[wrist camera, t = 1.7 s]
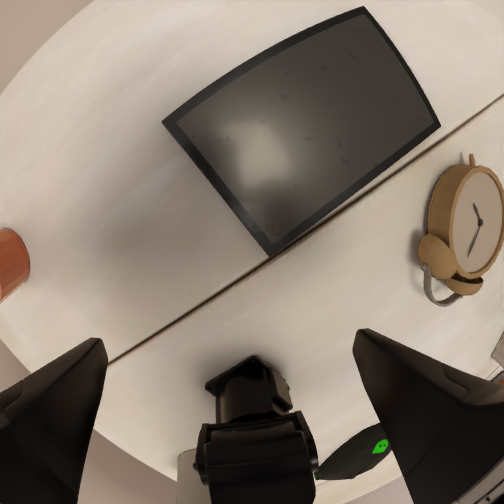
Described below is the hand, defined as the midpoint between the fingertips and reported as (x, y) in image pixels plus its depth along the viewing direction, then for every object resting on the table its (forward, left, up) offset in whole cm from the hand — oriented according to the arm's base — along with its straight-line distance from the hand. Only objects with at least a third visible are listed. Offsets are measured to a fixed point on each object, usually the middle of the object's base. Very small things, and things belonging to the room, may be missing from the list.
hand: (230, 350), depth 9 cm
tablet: (+12, +3, -14) cm, 18 cm away
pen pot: (-18, +12, -14) cm, 26 cm away
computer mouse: (-6, -42, -14) cm, 44 cm away
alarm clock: (+19, -14, -14) cm, 27 cm away
